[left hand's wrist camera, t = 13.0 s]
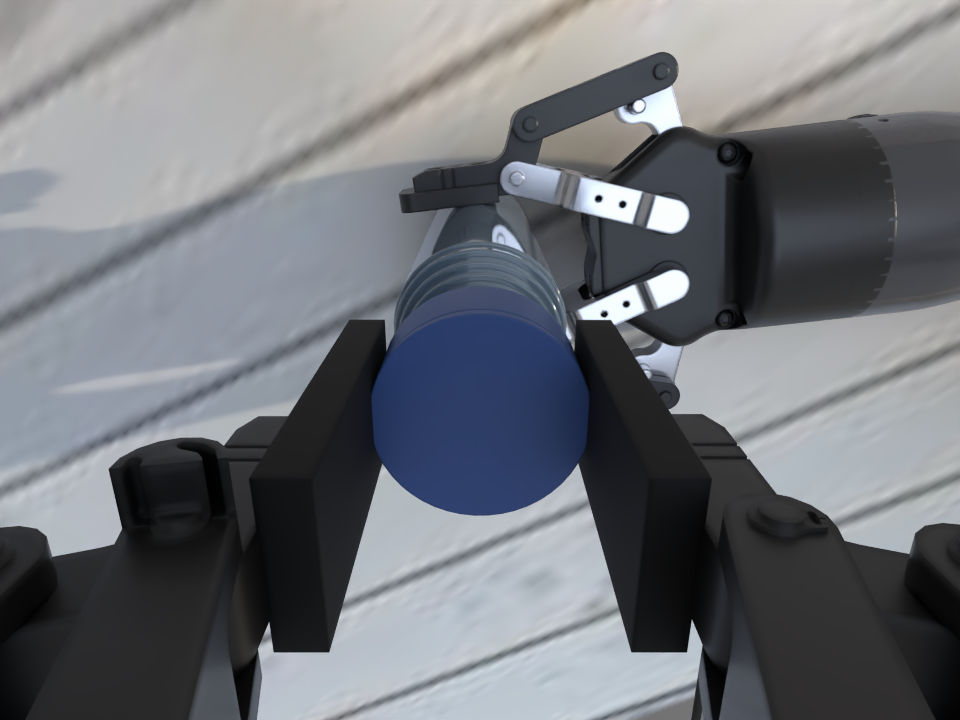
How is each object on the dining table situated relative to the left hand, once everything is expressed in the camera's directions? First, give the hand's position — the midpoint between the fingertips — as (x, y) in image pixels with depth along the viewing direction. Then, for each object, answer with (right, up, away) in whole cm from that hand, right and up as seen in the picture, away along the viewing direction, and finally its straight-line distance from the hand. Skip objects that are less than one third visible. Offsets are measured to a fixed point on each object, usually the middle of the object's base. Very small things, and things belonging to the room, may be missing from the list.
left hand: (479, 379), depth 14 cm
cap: (0, -1, -2) cm, 2 cm away
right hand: (-3, +4, +12) cm, 13 cm away
